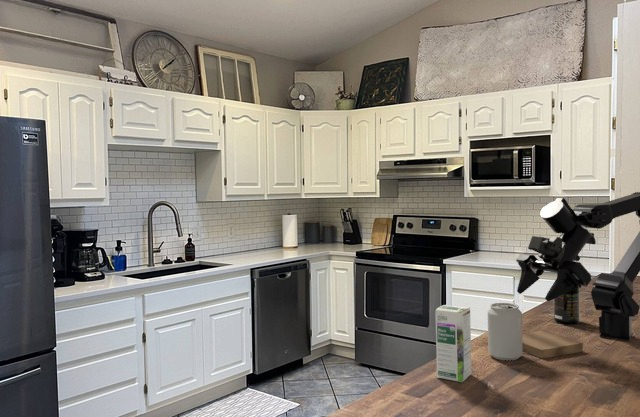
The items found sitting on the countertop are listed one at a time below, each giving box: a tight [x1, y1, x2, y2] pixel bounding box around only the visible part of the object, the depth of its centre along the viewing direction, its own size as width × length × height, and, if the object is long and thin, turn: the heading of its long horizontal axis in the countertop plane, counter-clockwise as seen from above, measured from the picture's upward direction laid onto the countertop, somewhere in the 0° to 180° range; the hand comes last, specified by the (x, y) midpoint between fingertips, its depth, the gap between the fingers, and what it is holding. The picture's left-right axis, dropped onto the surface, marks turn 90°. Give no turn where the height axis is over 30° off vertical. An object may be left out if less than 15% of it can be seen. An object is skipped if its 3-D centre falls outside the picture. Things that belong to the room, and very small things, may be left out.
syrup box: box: [434, 304, 472, 383], centre depth 110 cm, size 6×6×14 cm
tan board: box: [522, 329, 584, 360], centre depth 127 cm, size 12×12×2 cm
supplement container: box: [552, 288, 581, 326], centre depth 149 cm, size 7×7×10 cm
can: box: [487, 302, 524, 362], centre depth 121 cm, size 8×8×12 cm
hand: (532, 296), depth 124 cm, fingers open, 9 cm apart
